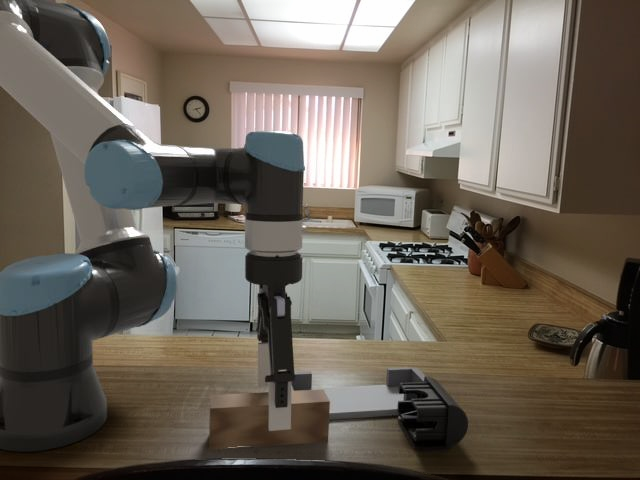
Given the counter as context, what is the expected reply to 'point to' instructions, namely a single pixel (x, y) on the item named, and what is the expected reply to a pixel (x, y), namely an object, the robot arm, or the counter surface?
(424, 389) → the end cap
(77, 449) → the counter surface
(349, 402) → the holder
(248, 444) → the wooden block
